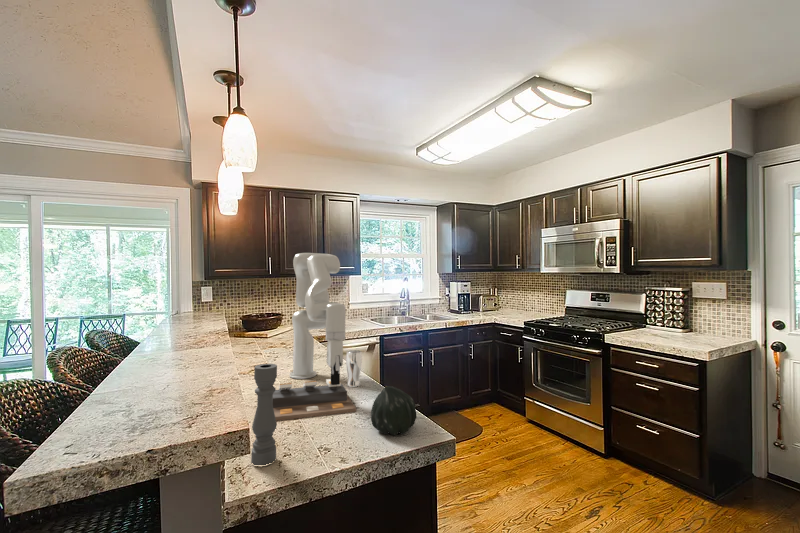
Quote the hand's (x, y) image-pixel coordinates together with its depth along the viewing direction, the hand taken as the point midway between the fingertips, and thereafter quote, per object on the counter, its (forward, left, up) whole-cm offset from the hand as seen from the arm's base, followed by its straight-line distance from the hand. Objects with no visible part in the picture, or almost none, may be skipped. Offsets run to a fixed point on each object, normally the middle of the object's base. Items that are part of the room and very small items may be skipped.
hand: (335, 384), depth 141 cm
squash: (+29, +14, -8) cm, 33 cm away
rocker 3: (-4, 0, -1) cm, 4 cm away
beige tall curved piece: (-21, +12, -8) cm, 25 cm away
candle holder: (+37, -25, -8) cm, 45 cm away
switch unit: (-1, -9, -8) cm, 12 cm away
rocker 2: (-4, -9, -1) cm, 10 cm away
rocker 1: (-4, -18, -1) cm, 19 cm away
